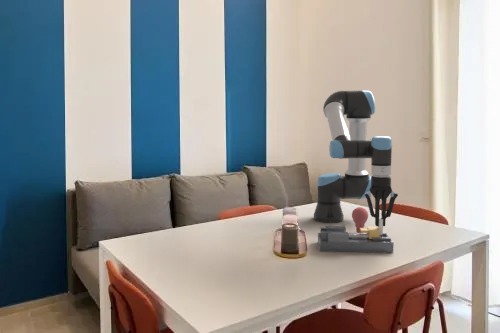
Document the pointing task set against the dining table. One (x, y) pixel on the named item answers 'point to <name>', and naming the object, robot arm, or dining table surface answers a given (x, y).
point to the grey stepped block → (351, 241)
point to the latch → (371, 232)
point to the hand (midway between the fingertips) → (380, 233)
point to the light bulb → (359, 218)
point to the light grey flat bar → (358, 235)
